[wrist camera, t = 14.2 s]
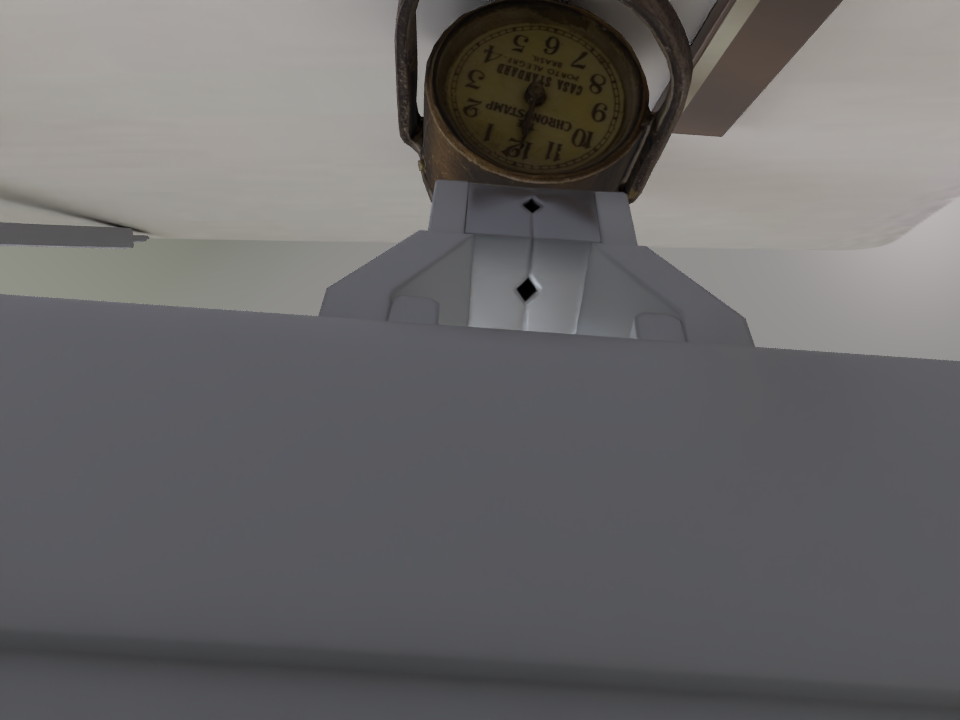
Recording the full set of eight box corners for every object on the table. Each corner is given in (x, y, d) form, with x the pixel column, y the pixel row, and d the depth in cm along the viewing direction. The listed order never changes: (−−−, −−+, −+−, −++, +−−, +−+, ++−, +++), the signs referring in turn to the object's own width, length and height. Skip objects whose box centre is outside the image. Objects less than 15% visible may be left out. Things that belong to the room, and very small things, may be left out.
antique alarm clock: (287, 186, 27) (551, 291, 31) (405, 86, 15) (811, 278, 19) (358, -21, 27) (609, 108, 31) (525, -275, 16) (897, -18, 19)
